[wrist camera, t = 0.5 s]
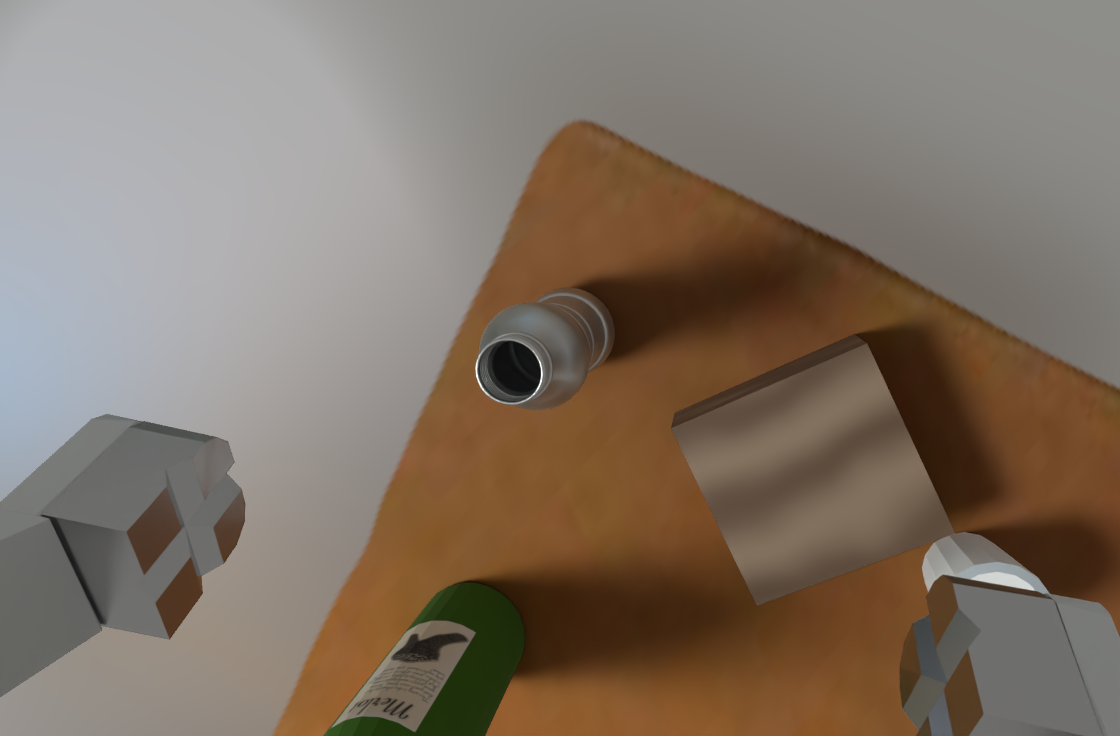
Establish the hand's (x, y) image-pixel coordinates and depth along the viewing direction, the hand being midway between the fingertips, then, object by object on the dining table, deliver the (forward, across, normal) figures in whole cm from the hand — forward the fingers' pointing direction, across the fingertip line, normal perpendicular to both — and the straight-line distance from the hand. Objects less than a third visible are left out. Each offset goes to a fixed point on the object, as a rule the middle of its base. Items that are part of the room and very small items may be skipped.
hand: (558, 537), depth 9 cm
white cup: (+38, +24, -38) cm, 58 cm away
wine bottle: (+33, -12, -50) cm, 61 cm away
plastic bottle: (+44, -7, -26) cm, 52 cm away
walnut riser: (+40, +11, -32) cm, 53 cm away
